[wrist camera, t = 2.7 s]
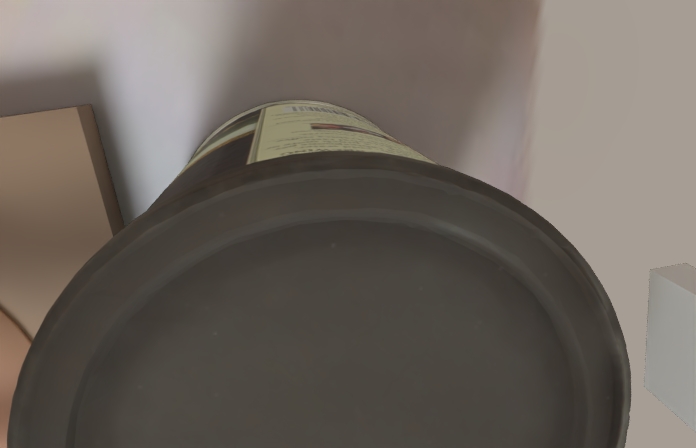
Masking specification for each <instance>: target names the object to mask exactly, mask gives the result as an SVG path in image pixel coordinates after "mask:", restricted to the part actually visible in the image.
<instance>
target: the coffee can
mask: <svg viewBox="0 0 696 448" xmlns="http://www.w3.org/2000/svg"><path fill="white" fill-rule="evenodd" d="M630 406H631V372H630V365H629V359H628V354H627V350H626V344H625V340H624V336H623V333H622V330H621V327H620V324H619V322H618V319H617V316H616V313H615V311H614V308H613V306H612V303H611V301H610V299H609V297H608V295H607V293H606V292H605V290H604V288H603V286H602V284H601V283H600V281H599V280H598V278H597V276H596V275H595V273H594V272H593V270H592V269H591V267H590V265H589V264H588V263H587V262H586V261H585V259H584V258H583V257H582V255H581V254H580V253H579V252H578V250H577V249H576V248H575V247H574V246H573V245H572V244H571V243H570V242H569V241H568V240H567V239H566V238H565V237H564V236H563V235H562V234H561V233H560V232H559V231H558V230H557V229H556V228H555V227H554V226H553V225H552V224H551V223H549V222H548V221H547V220H545V219H544V218H543V217H541V216H540V215H539V214H538V213H536V212H535V211H534V210H532V209H530V208H529V207H527V206H526V205H524V204H523V203H521V202H520V201H518V200H517V199H515V198H514V197H512V196H510V195H509V194H507V193H505V192H503V191H501V190H499V189H497V188H495V187H493V186H491V185H489V184H486V183H484V182H482V181H480V180H478V179H475V178H473V177H470V176H468V175H465V174H463V173H460V172H458V171H455V170H453V169H450V168H447V167H444V166H440V165H438V164H436V163H435V162H433V161H431V160H430V159H428V158H426V157H425V156H423V155H421V154H420V153H418V152H416V151H414V150H413V149H411V148H409V147H408V146H406V145H404V144H403V143H401V142H399V141H397V140H396V139H394V138H392V137H391V136H389V135H388V134H386V133H384V132H383V131H382V130H381V129H379V128H378V127H377V126H376V125H375V124H373V123H372V122H370V121H369V120H367V119H366V118H365V117H363V116H360V115H358V114H356V113H354V112H353V111H350V110H348V109H345V108H342V107H339V106H336V105H333V104H330V103H324V102H318V101H311V100H286V101H278V102H274V103H266V104H263V105H260V106H257V107H255V108H252V109H250V110H247V111H245V112H243V113H241V114H239V115H237V116H235V117H234V118H232V119H230V120H229V121H227V122H226V123H225V124H223V125H222V126H221V127H219V128H218V129H217V130H216V131H214V132H213V133H212V134H211V135H210V136H209V137H208V138H207V139H206V140H205V141H204V142H203V144H202V145H201V146H200V147H199V148H198V150H197V151H196V153H195V154H194V156H193V157H192V158H191V160H190V161H189V163H188V164H187V165H186V167H185V168H184V169H183V170H182V171H181V173H180V174H179V175H178V176H177V177H176V178H175V180H174V181H173V182H172V183H171V184H170V185H169V186H168V187H167V188H166V189H165V190H164V191H163V193H162V194H161V195H160V196H159V197H158V199H157V200H156V201H155V202H154V203H153V204H152V205H151V206H150V208H149V209H148V210H147V211H146V212H144V213H143V214H142V215H140V216H139V217H138V218H136V219H135V220H134V221H133V222H131V223H130V224H129V225H127V226H126V227H125V228H124V229H122V230H121V231H120V232H118V233H117V234H116V235H115V236H114V237H112V238H111V239H110V240H109V241H108V242H107V243H106V244H105V245H104V246H103V247H102V248H101V249H100V250H99V251H98V252H96V253H95V254H94V255H93V256H92V257H91V258H90V259H89V260H88V261H87V262H86V263H85V264H84V265H83V267H82V268H81V269H80V270H79V271H78V272H77V273H76V274H75V276H74V277H73V278H72V280H71V281H70V282H69V283H68V285H67V286H66V287H65V289H64V290H63V291H62V293H61V294H60V296H59V297H58V298H57V300H56V301H55V303H54V304H53V305H52V307H51V308H50V310H49V311H48V312H47V314H46V316H45V318H44V320H43V322H42V324H41V326H40V328H39V330H38V332H37V333H36V335H35V337H34V339H33V341H32V344H31V346H30V348H29V350H28V353H27V355H26V357H25V360H24V362H23V364H22V367H21V370H20V373H19V376H18V380H17V385H16V388H15V391H14V394H13V398H12V404H11V410H10V417H9V424H8V431H7V448H624V447H625V443H626V436H627V429H628V426H629V418H630V416H629V412H630Z"/></svg>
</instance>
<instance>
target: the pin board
mask: <svg viewBox="0 0 696 448" xmlns="http://www.w3.org/2000/svg"><path fill="white" fill-rule="evenodd" d="M124 228H125V227H124V223H123V220H122V216H121V212H120V209H119V205H118V201H117V198H116V194H115V191H114V187H113V183H112V180H111V176H110V172H109V169H108V165H107V161H106V158H105V154H104V150H103V147H102V143H101V139H100V136H99V132H98V128H97V125H96V121H95V117H94V114H93V110H92V107H91V104H89V105H82V106H75V107H68V108H61V109H54V110H47V111H39V112H32V113H25V114H18V115H11V116H4V117H0V448H7V431H8V424H9V417H10V410H11V404H12V398H13V394H14V391H15V388H16V385H17V380H18V376H19V373H20V370H21V367H22V364H23V362H24V360H25V357H26V355H27V353H28V350H29V348H30V346H31V344H32V341H33V339H34V337H35V335H36V333H37V332H38V330H39V328H40V326H41V324H42V322H43V320H44V318H45V316H46V314H47V312H48V311H49V310H50V308H51V307H52V305H53V304H54V303H55V301H56V300H57V298H58V297H59V296H60V294H61V293H62V291H63V290H64V289H65V287H66V286H67V285H68V283H69V282H70V281H71V280H72V278H73V277H74V276H75V274H76V273H77V272H78V271H79V270H80V269H81V268H82V267H83V265H84V264H85V263H86V262H87V261H88V260H89V259H90V258H91V257H92V256H93V255H94V254H95V253H96V252H98V251H99V250H100V249H101V248H102V247H103V246H104V245H105V244H106V243H107V242H108V241H109V240H110V239H111V238H112V237H114V236H115V235H116V234H117V233H118V232H120V231H121V230H122V229H124Z"/></svg>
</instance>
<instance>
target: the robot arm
mask: <svg viewBox="0 0 696 448" xmlns="http://www.w3.org/2000/svg"><path fill="white" fill-rule="evenodd" d="M644 387H645V388H646V389H648V390H649V391H650V392H651V393H652V394H653V395H654V396H655V397H656V398H658V399H659V400H660V401H661V402H662V403H663V404H664V405H665V406H667V407H668V408H669V409H670V410H671V411H672V412H673V413H674V414H676V415H677V416H678V417H679V418H680V419H681V420H682V421H684V422H685V423H686V424H687V425H688V426H689V427H690V428H691V429H693V430H694V431H695V432H696V268H695V267H693V266H691V265H689V264H687V263H683V264H678V265H672V266H667V267H661V268H656V269H650V281H649V300H648V320H647V340H646V358H645V377H644Z"/></svg>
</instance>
